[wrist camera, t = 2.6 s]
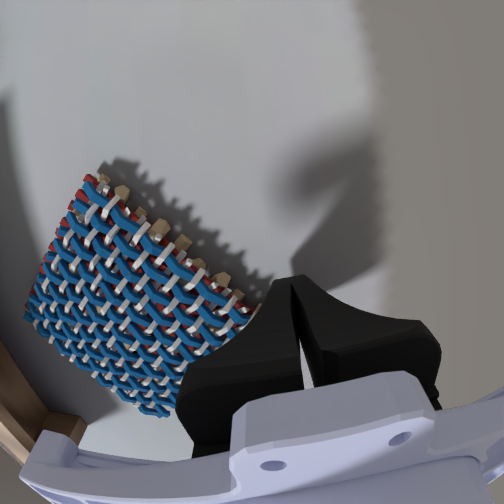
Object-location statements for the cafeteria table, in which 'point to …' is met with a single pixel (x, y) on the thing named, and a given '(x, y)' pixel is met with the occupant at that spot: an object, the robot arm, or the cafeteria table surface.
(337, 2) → the cafeteria table surface
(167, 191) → the cafeteria table surface
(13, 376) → the curved wooden frame
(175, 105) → the cafeteria table surface
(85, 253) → the woven mat
